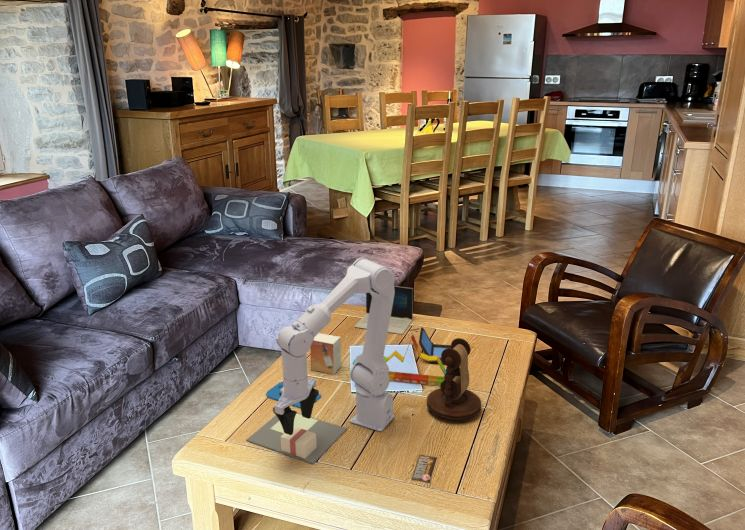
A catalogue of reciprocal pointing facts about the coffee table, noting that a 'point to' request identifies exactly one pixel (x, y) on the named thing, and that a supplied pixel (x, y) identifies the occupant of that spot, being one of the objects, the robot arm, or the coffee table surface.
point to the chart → (415, 377)
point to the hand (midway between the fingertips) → (297, 425)
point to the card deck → (299, 442)
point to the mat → (324, 431)
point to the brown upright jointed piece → (455, 386)
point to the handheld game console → (431, 346)
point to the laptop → (394, 311)
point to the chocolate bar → (424, 469)
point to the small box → (326, 353)
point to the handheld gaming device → (276, 394)
